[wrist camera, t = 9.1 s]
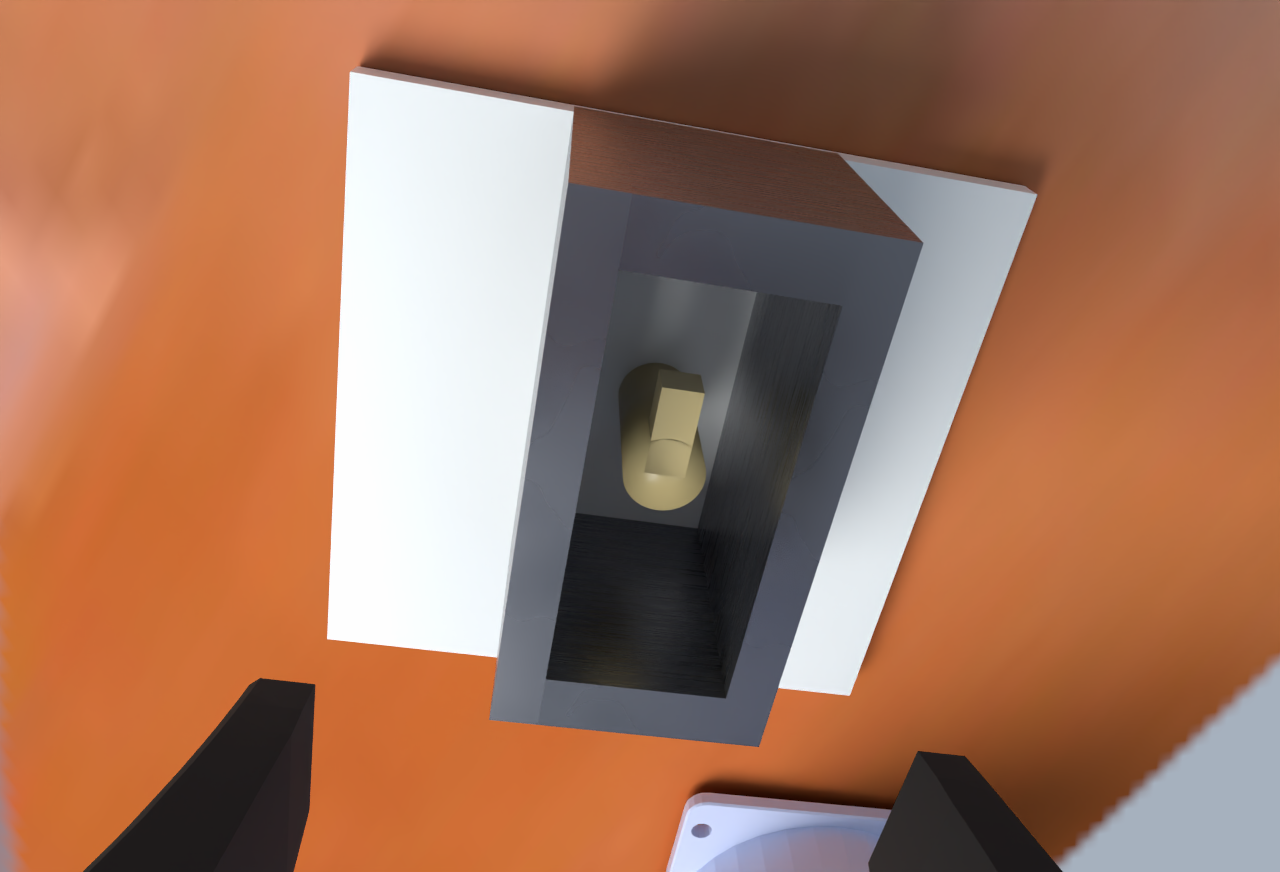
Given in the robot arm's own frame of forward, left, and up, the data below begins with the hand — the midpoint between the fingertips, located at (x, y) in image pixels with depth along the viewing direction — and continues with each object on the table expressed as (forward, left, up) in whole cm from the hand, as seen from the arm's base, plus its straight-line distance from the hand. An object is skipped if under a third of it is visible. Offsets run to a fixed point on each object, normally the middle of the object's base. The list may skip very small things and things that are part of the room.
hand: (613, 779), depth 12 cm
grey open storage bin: (+2, -1, -9) cm, 9 cm away
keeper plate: (0, -1, -9) cm, 9 cm away
